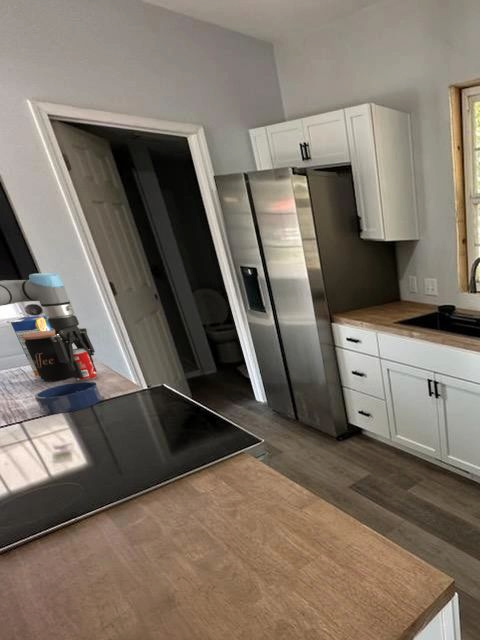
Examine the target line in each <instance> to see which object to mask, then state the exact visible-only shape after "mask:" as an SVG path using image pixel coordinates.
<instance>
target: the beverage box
mask: <svg viewBox="0 0 480 640" xmlns="http://www.w3.org/2000/svg"><path fill="white" fill-rule="evenodd" d="M47 319H48V317H46V316H45V314H44V315H34V316H22V317H19V318H18V319H15V320H12V321H10V324H11V326H12V329H13V331H14V333H15V335H16V338H17V340H18V342H19V344H20V346H21V348H22V350H23V353H24V354H25V356H26V359H27V361H28V363H29V365H30V368H31V370H32V372H33V374H34V376H35V377H40V376H39V374H38V371H37V369H36V367H35V365H34V363H33V360H32V358H31V356H30V354H29V352H28V350H27V347H26V345H25V340H24V339H23V338H22V336H23V335H25V334H29V333H34V332H41V331H50V330H53V328H51V327H50V325H49V323H48V320H47Z"/></svg>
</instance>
